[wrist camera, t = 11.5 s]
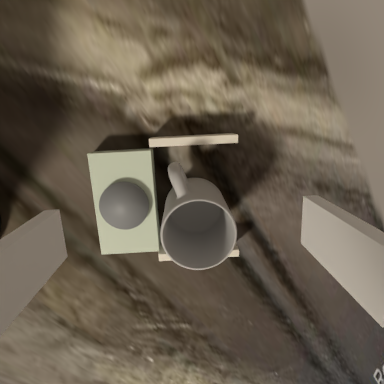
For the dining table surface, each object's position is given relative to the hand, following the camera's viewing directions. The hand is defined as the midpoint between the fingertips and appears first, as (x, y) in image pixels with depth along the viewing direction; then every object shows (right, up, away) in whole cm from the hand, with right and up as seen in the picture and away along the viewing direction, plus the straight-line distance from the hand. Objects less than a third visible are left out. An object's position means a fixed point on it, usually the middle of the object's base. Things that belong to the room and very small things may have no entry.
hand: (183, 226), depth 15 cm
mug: (0, +1, +25) cm, 25 cm away
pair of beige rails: (-3, +1, +25) cm, 25 cm away
